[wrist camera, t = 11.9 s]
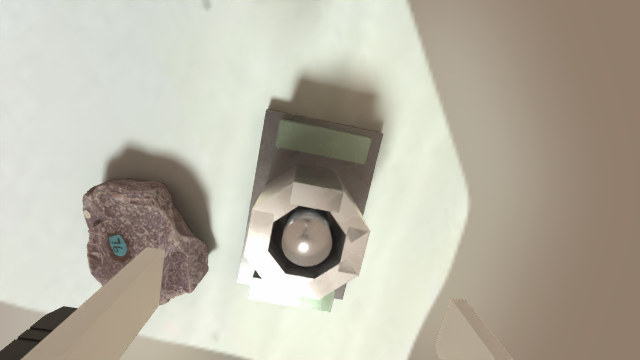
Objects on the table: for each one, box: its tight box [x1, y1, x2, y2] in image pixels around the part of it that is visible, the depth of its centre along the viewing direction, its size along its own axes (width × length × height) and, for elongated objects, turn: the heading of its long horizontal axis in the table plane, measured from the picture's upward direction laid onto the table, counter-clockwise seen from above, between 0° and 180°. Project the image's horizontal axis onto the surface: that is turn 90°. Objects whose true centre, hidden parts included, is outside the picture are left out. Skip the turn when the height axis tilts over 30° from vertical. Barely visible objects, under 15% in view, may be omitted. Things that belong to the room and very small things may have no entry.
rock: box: [82, 179, 208, 305], centre depth 27 cm, size 8×11×5 cm
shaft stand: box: [238, 109, 383, 312], centre depth 26 cm, size 16×10×8 cm, turn 168°
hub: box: [244, 164, 370, 299], centre depth 25 cm, size 8×8×7 cm
